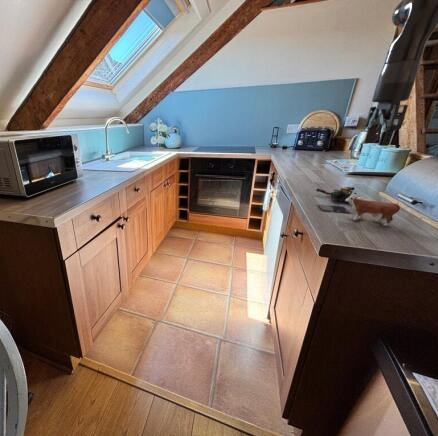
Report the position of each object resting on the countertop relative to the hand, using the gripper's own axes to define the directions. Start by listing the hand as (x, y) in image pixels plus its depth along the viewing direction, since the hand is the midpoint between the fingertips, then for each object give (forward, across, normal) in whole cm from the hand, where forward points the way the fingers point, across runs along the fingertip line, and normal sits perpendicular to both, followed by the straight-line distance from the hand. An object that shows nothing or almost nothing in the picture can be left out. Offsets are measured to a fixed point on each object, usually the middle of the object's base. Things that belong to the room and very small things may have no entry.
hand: (375, 144), depth 72 cm
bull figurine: (+25, 0, -4) cm, 25 cm away
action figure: (+25, +24, -6) cm, 35 cm away
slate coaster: (+24, +10, +2) cm, 27 cm away
